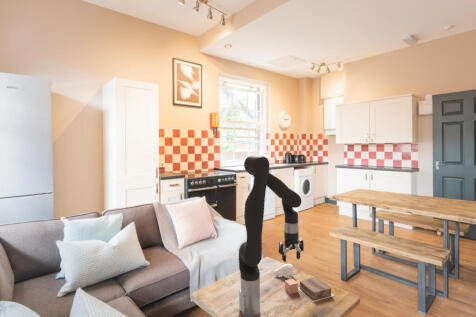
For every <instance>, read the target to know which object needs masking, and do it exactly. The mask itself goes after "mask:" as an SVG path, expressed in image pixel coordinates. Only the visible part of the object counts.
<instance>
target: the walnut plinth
mask: <svg viewBox="0 0 476 317" xmlns="http://www.w3.org/2000/svg"><path fill="white" fill-rule="evenodd" d="M299 287H300V289H301V290H302V291H303V292H305V293H306V294H307V295H308V296H309V297H310V298H312V299H313V300H317V299H321V298H324V297H328V296H331V294H332V288H331V286H329V285H328V284H326V283H325V282H323V281H322V280H320V279H319V278H318V277H313V278H312V277H311V278H308V279H303V280H300V281H299Z"/></svg>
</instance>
